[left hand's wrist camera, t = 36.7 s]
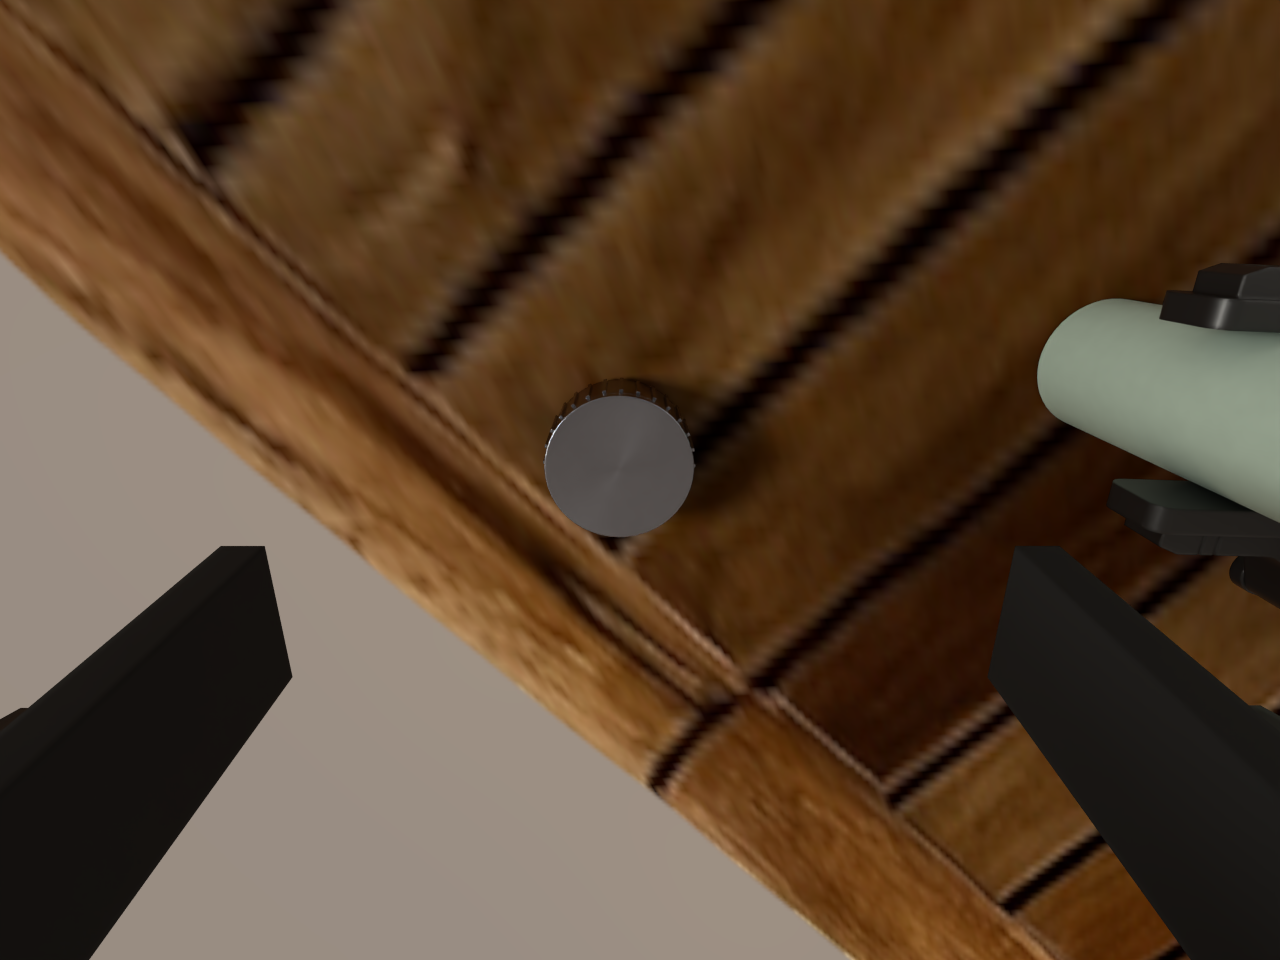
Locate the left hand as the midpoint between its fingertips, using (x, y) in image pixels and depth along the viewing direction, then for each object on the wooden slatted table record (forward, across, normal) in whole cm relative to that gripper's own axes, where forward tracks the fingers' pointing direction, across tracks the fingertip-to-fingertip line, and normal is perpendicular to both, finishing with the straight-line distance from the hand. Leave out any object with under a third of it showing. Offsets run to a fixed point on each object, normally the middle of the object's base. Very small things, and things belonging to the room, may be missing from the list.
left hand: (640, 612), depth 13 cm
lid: (+10, -1, -1) cm, 10 cm away
